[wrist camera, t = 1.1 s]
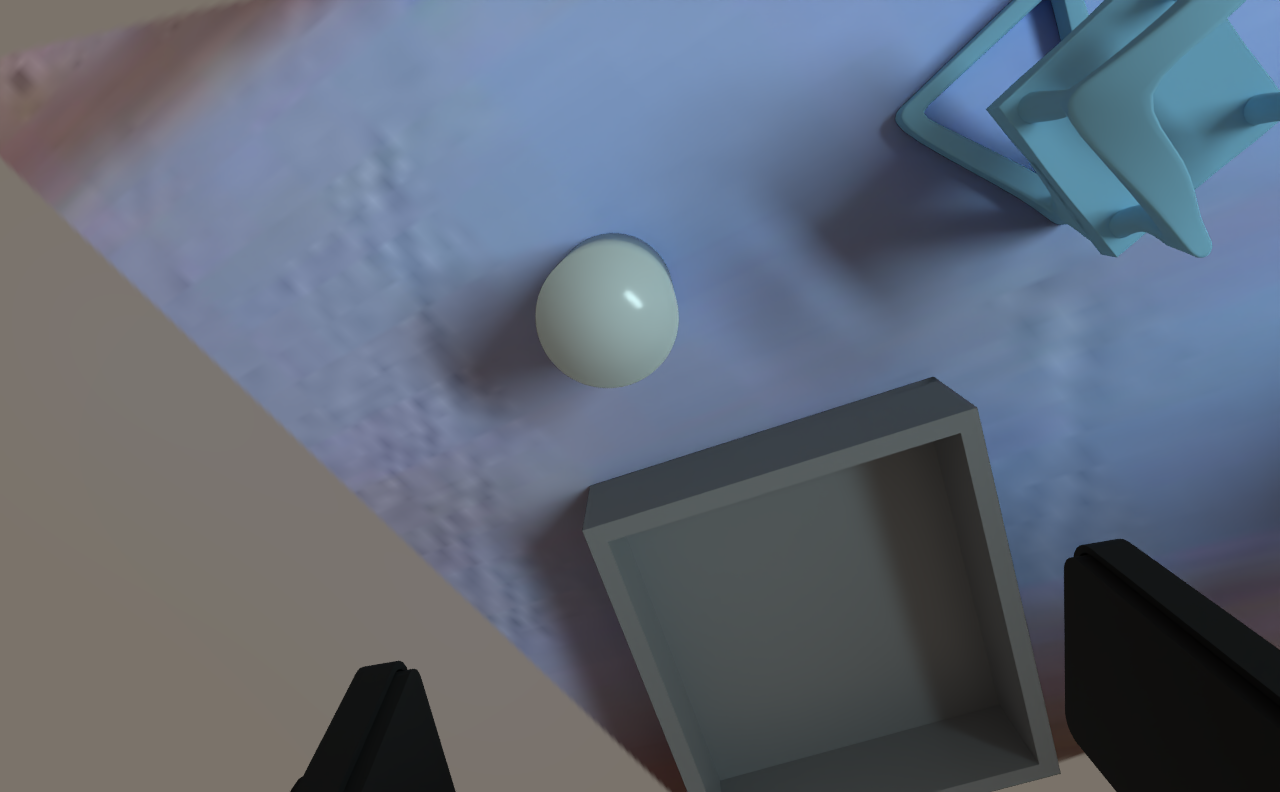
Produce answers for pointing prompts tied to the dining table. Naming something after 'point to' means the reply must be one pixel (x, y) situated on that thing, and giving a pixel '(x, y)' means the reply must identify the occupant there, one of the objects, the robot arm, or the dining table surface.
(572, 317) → the pale green capsule
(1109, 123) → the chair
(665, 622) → the bin
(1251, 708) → the robot arm
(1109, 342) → the dining table surface
